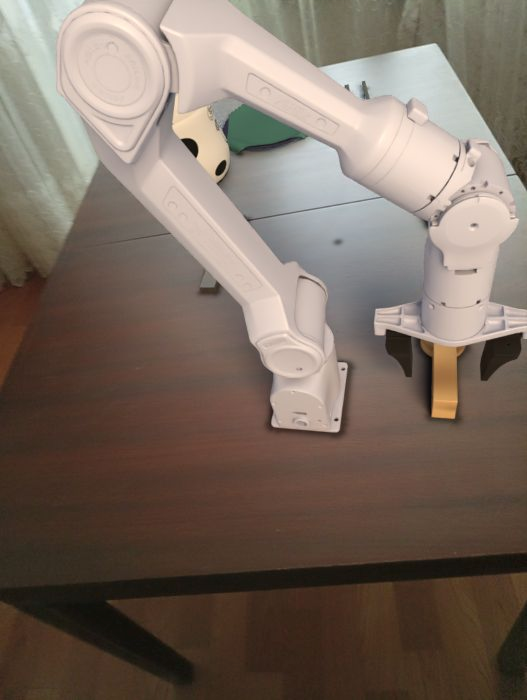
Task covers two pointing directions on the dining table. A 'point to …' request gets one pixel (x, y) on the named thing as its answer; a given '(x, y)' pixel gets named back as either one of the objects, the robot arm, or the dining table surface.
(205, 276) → the grey-brown pronged block
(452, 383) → the disc with handle bar
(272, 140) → the cutlery set
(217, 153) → the milk container
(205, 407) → the dining table surface
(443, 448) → the dining table surface
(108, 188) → the dining table surface
